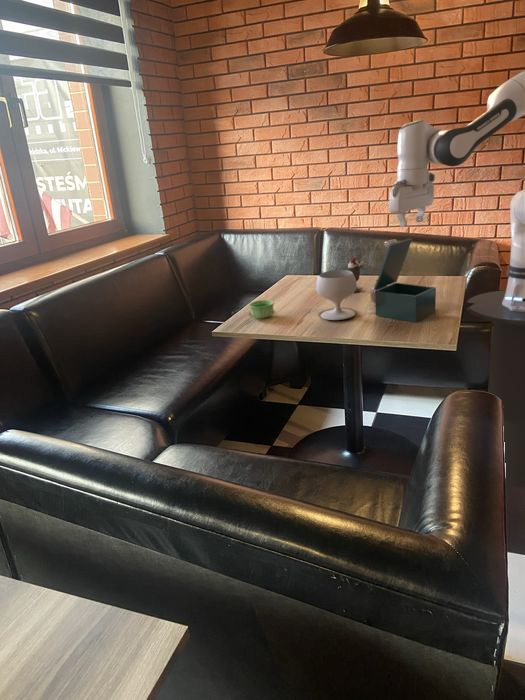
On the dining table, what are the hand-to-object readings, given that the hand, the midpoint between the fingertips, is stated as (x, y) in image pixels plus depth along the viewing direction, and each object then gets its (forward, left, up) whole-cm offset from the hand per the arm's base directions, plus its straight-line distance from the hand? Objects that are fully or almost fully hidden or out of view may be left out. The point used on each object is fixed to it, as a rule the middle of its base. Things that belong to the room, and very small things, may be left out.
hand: (411, 224), depth 168 cm
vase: (+19, -10, -31) cm, 38 cm away
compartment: (+4, -3, -31) cm, 31 cm away
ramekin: (+48, +23, -31) cm, 62 cm away
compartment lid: (+8, -3, -14) cm, 17 cm away
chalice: (+23, +10, -31) cm, 40 cm away
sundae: (+38, -20, -31) cm, 53 cm away
